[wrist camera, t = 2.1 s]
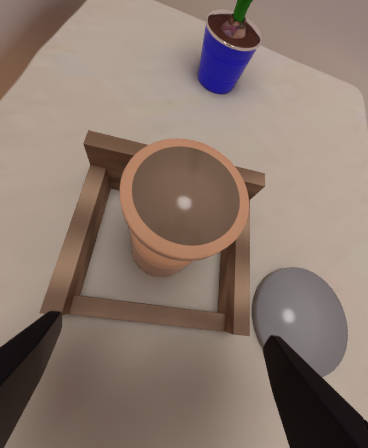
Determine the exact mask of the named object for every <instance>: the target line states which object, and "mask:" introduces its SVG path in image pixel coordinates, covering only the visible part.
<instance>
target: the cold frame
mask: <svg viewBox="0 0 368 448" xmlns="http://www.w3.org/2000/svg"><path fill="white" fill-rule="evenodd" d="M83 144H84V147H85V150H86V153H87V156H88V159H89V162H90V168H89V171H88V173H87V176H86V179H85V182H84V185H83V188H82V191H81V194H80V197H79V200H78V203H77V205H76V208H75V211H74V214H73V217H72V220H71V223H70V226H69V229H68V232H67V235H66V237H65V240H64V243H63V246H62V249H61V252H60V255H59V258H58V261H57V264H56V267H55V269H54V272H53V275H52V278H51V281H50V284H49V287H48V290H47V293H46V296H45V299H44V301H43V304H42V307H41V310H40V313H44V314H46V313H47V312H49V311H51V310H54V311H61V312H62V315H65V314H74V315H83V316H92V317H101V318H110V319H119V320H128V321H137V322H146V323H155V324H164V325H173V326H182V327H191V328H200V329H209V330H218V331H225V332H228V333H231V334H235V335H244V336H250V199H251V198H252V197H254V196H255V195H256V194H257V193H258V192H259V191H260V190H261V189H263V188H264V187H265V173H261V172H257V171H252V170H248V169H244V168H240V167H236V166H235V167H236V169H237V170H238V172H239V173H240V175H241V176H242V178H243V180H244V183H245V185H246V188H247V192H248V197H249V213H248V218H247V221H246V224H245V226H244V228H243V231H242V232H241V233H240V235H239V236H238V238H237V239H236V240H235V241H234V242H233V243H232V244H230V245H229V246H228V247H227V248H225V249H223V250H222V251H221V262H220V280H219V299H218V313H214V312H206V311H198V310H190V309H182V308H174V307H166V306H158V305H150V304H142V303H134V302H126V301H118V300H110V299H102V298H94V297H86V296H80V294H81V290H82V287H83V283H84V280H85V276H86V273H87V269H88V266H89V262H90V259H91V255H92V252H93V248H94V245H95V241H96V238H97V234H98V231H99V227H100V224H101V220H102V217H103V213H104V210H105V206H106V203H107V199H108V196H109V192H110V189H111V188H112V189H117V190H120V182H121V178H122V174H123V172H124V170H125V167H126V166H127V164H128V163H129V161H130V160H131V159H132V157H133V156H134V155H135V154H136V153H138V152H139V151H140V150H141V149H143V148H144V147H146V146H148V145H146V144H142V143H138V142H134V141H130V140H126V139H122V138H118V137H113V136H109V135H105V134H101V133H97V132H93V131H89V130H88V133H87V135H86V138H85V141H84V143H83Z"/></svg>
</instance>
